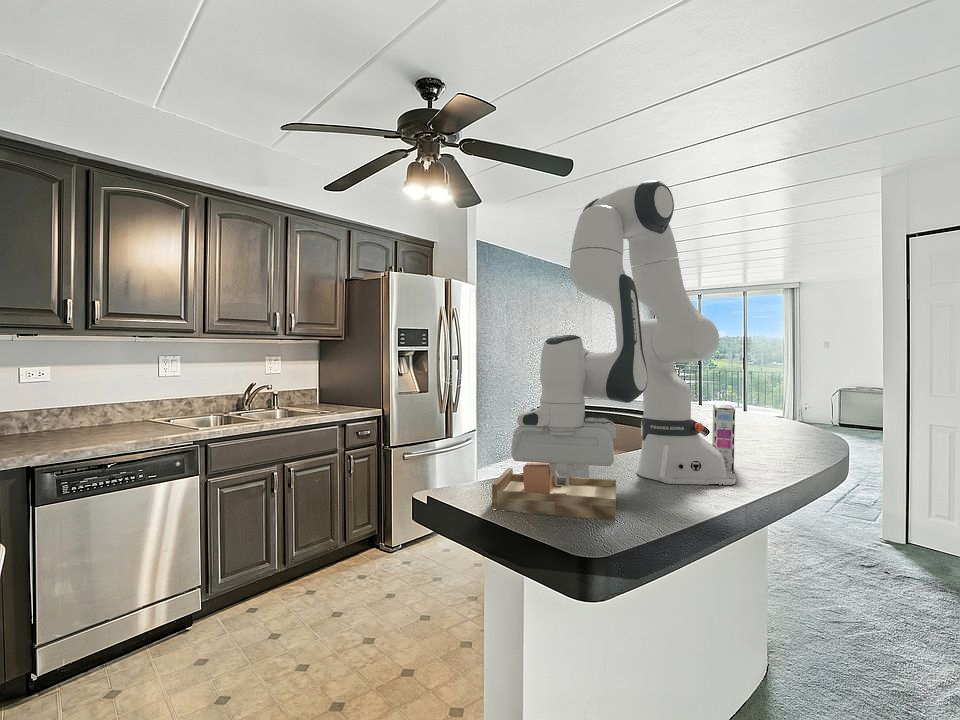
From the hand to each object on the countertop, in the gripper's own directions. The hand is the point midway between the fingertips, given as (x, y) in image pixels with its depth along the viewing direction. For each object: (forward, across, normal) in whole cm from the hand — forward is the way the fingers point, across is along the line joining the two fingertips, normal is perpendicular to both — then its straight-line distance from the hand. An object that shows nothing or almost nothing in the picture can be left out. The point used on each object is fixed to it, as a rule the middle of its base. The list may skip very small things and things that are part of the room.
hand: (561, 485), depth 104 cm
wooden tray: (+4, +1, 0) cm, 4 cm away
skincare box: (+4, 0, -18) cm, 18 cm away
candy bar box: (+4, -38, -44) cm, 58 cm away
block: (+1, +5, 0) cm, 5 cm away
